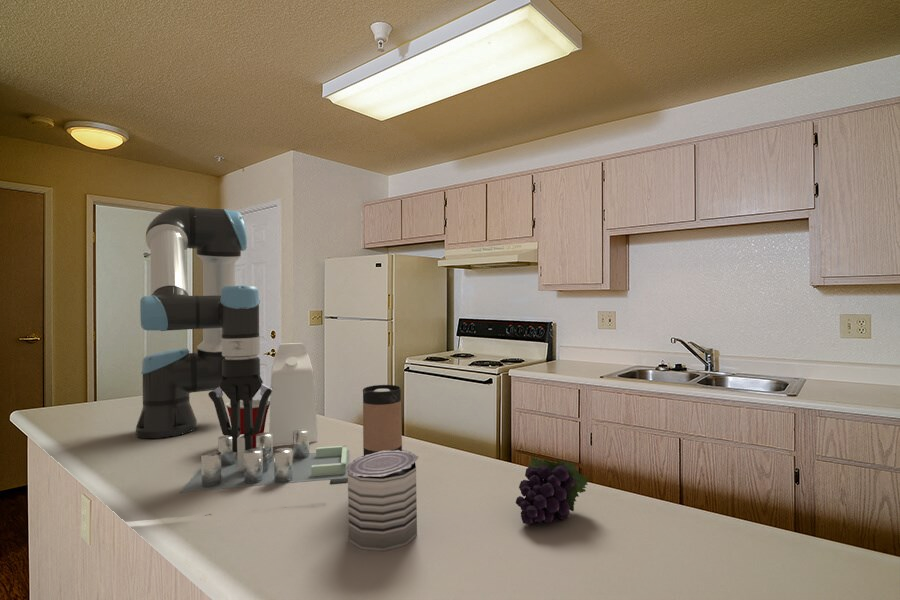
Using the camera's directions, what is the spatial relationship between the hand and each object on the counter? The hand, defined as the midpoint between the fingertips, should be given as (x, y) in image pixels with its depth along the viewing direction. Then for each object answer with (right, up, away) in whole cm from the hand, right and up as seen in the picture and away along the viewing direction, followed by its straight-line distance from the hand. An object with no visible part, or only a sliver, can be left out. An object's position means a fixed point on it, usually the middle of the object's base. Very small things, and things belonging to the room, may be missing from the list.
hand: (242, 466), depth 103 cm
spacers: (+3, -2, +1) cm, 4 cm away
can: (+34, -2, -26) cm, 43 cm away
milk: (+3, -2, +24) cm, 25 cm away
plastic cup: (-6, -2, +18) cm, 20 cm away
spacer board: (+6, -2, +1) cm, 7 cm away
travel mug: (+32, -2, -8) cm, 33 cm away
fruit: (+62, -2, -21) cm, 65 cm away
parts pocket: (+18, -2, +4) cm, 19 cm away
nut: (+3, -1, +1) cm, 3 cm away
